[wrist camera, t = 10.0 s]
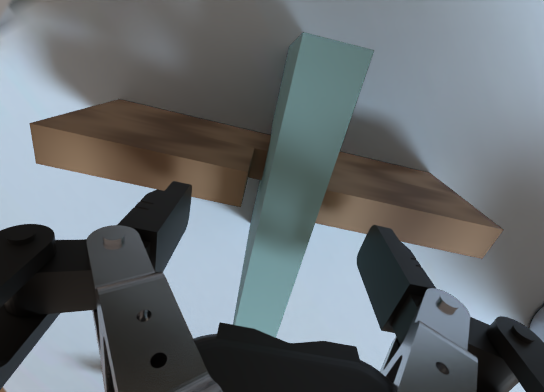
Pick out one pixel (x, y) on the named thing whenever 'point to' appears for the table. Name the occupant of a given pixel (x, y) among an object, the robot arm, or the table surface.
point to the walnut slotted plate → (255, 172)
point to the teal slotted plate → (297, 171)
